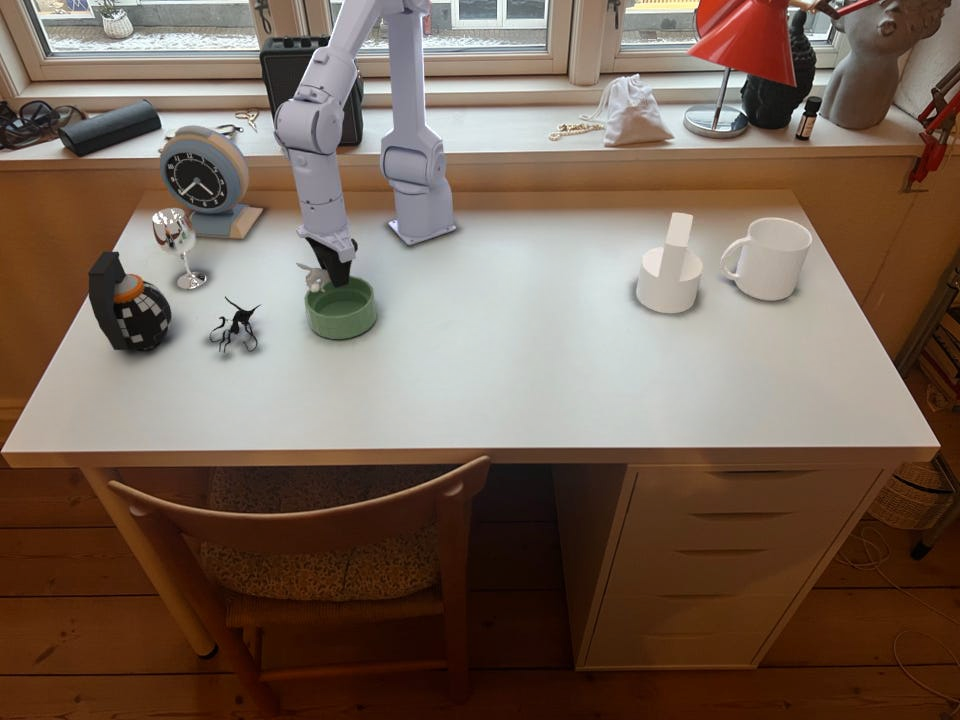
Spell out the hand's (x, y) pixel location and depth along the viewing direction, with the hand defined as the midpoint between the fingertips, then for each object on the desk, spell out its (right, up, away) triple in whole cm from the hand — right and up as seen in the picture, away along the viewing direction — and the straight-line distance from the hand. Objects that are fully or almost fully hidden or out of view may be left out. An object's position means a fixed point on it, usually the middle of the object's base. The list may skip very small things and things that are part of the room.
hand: (336, 277), depth 100 cm
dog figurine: (-1, -2, +1) cm, 2 cm away
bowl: (0, -6, +5) cm, 8 cm away
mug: (+64, 0, +11) cm, 65 cm away
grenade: (-28, -10, +1) cm, 30 cm away
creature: (-15, -9, +2) cm, 17 cm away
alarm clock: (-26, +13, +25) cm, 38 cm away
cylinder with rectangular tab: (+49, -2, +9) cm, 50 cm away
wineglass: (-26, +1, +13) cm, 29 cm away
